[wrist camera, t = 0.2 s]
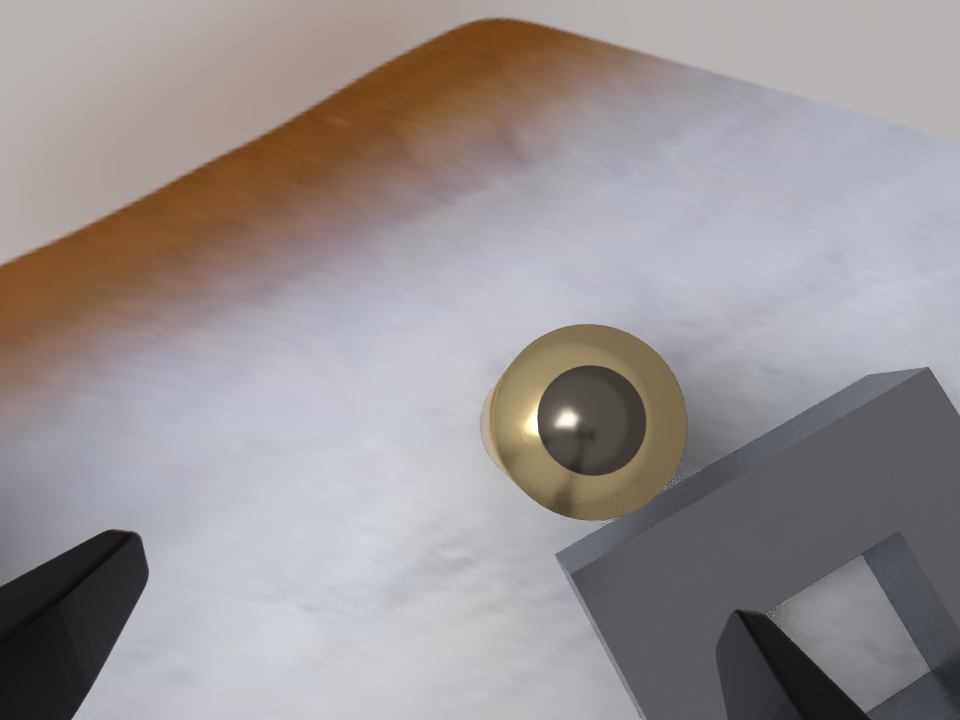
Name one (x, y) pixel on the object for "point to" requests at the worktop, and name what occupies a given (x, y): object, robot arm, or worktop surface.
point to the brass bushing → (587, 422)
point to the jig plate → (788, 545)
